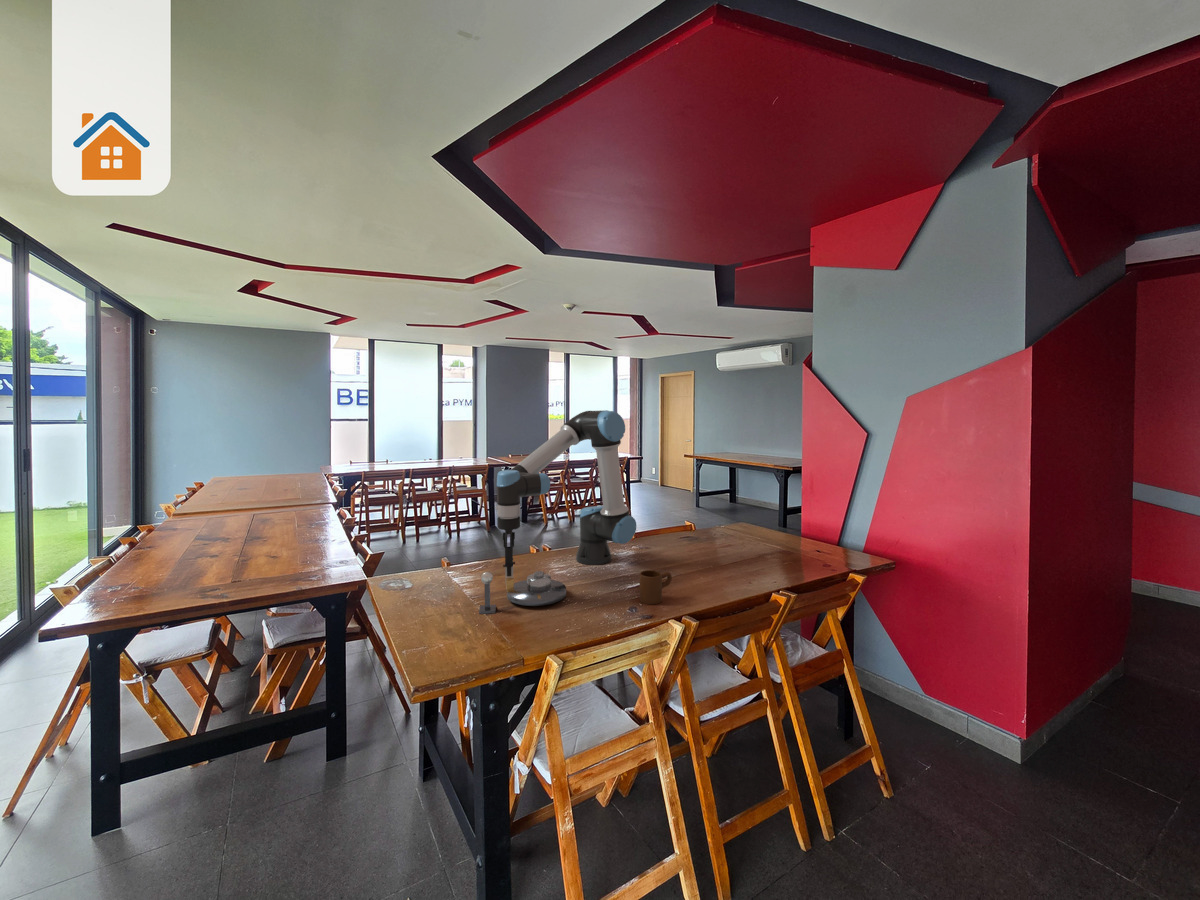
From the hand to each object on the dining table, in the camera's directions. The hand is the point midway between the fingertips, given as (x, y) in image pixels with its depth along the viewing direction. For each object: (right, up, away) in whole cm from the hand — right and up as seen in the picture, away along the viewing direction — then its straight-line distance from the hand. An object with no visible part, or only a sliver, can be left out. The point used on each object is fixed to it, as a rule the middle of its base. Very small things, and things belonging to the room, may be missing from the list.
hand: (509, 584), depth 167 cm
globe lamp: (-5, -6, -10) cm, 13 cm away
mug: (+50, -5, -1) cm, 50 cm away
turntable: (+9, -4, 0) cm, 10 cm away
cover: (+10, -2, +1) cm, 10 cm away
